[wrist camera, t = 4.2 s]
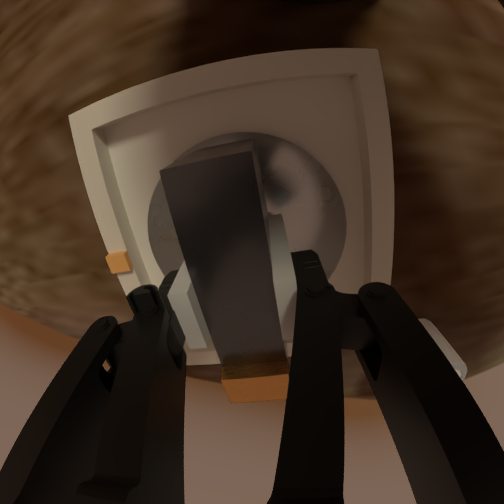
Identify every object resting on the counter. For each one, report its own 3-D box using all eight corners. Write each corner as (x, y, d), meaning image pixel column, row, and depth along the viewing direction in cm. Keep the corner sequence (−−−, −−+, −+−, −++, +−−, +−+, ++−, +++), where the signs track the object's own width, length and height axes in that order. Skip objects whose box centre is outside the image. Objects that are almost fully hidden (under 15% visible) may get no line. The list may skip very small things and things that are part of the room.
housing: (96, 113, 16) (63, 116, 12) (357, 59, 14) (380, 47, 10) (171, 338, 25) (160, 370, 21) (370, 312, 23) (385, 343, 19)
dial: (130, 158, 15) (44, 196, 8) (332, 118, 14) (398, 122, 7) (182, 318, 20) (154, 407, 13) (345, 296, 19) (379, 386, 12)
